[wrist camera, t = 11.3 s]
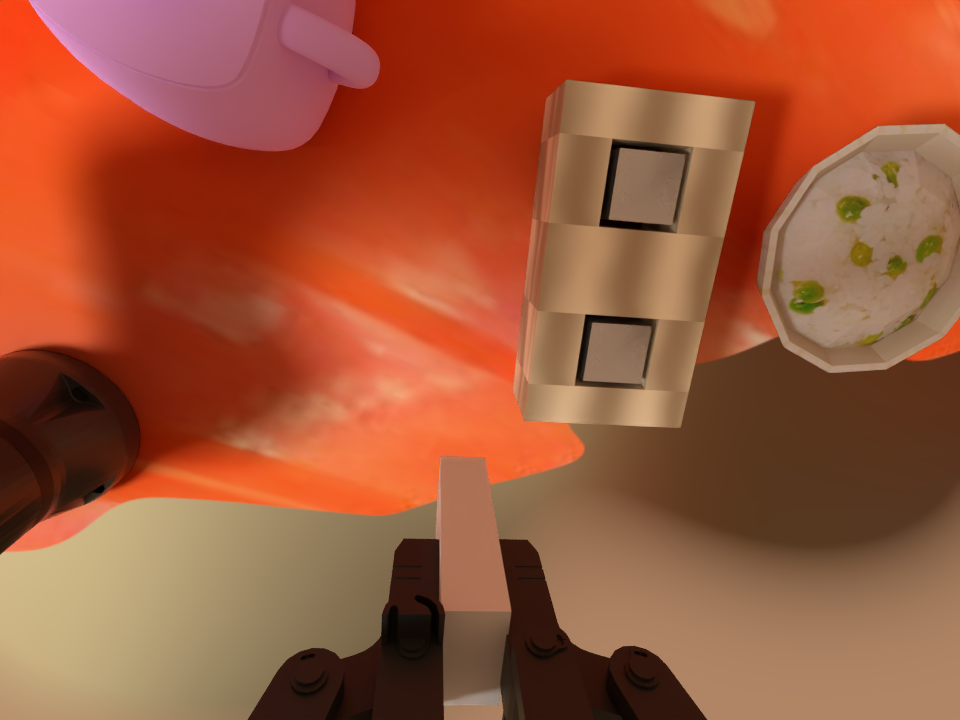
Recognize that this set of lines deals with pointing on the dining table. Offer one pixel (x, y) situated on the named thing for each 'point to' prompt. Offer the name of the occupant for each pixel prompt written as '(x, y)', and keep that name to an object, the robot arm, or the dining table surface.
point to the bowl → (868, 251)
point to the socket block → (623, 249)
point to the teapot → (221, 61)
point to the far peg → (613, 349)
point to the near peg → (642, 186)
